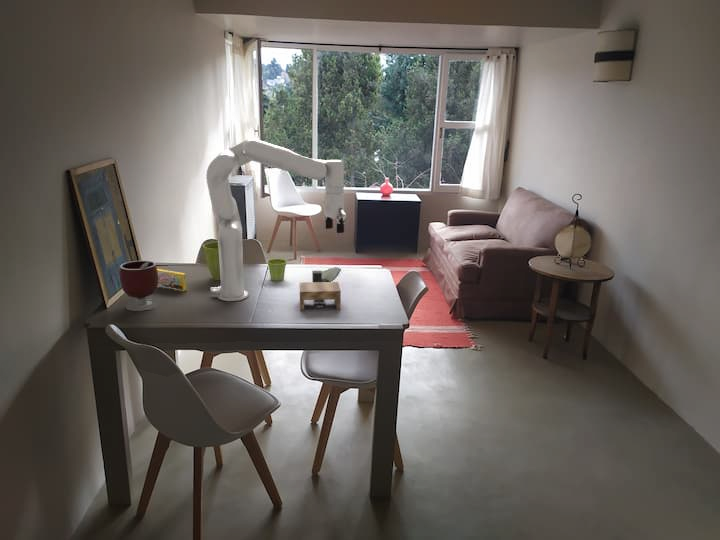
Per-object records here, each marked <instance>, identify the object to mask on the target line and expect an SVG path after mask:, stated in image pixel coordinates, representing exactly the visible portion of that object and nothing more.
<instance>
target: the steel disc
mask: <svg viewBox="0 0 720 540" xmlns="http://www.w3.org/2000/svg"><path fill="white" fill-rule="evenodd" d="M326 307H327V303H326V301H314V302H313V308H315V309H324V308H326Z"/></svg>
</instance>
